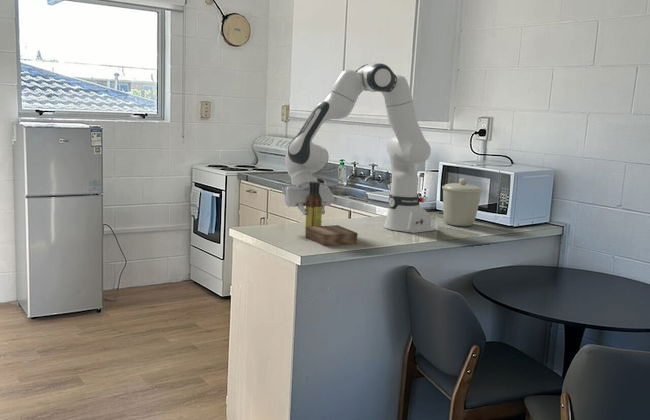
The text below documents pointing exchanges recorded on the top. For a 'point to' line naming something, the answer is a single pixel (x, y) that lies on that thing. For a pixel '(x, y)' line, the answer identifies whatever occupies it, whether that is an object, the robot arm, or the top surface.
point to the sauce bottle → (313, 205)
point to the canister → (460, 203)
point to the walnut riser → (331, 235)
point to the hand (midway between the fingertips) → (314, 213)
